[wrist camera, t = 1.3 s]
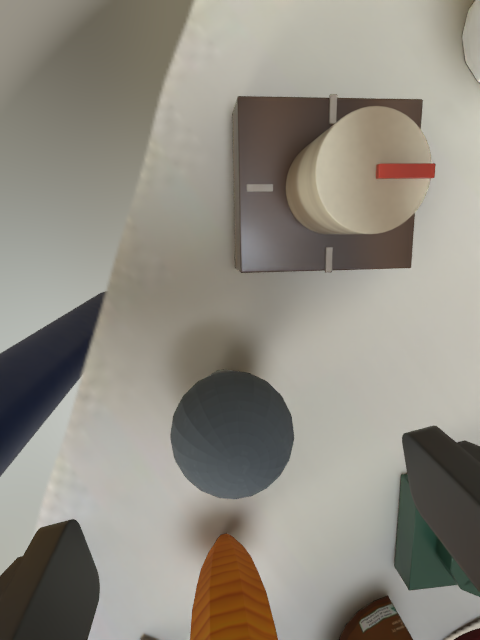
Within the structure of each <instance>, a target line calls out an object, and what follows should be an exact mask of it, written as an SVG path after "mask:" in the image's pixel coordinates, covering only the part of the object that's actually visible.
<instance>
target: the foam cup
mask: <svg viewBox="0 0 480 640" xmlns="http://www.w3.org/2000/svg"><path fill="white" fill-rule="evenodd" d="M462 40H463V47H464V54H465V61H466V64H467V65H468V67H469V68H470V70H471V72H472V73H473V75H474V76H475V78H476V79H477V81H478V82H479V83H480V0H475V2H474V3H473V4H472V6H471V7H470V9H469V10H468V14H467V18H466V22H465V26H464V31H463V35H462Z"/></svg>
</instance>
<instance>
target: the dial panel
mask: <svg viewBox="0 0 480 640" xmlns="http://www.w3.org/2000/svg"><path fill="white" fill-rule="evenodd" d="M422 103H423V100H422V99H367V98H337V94H330V98H308V97H250V96H238V98H237V101H236V104H235V107H234V111H233V114H232V123H233V171H234V220H235V268H236V269H237V270H239V271H240V272H241V273H252V272H287V271H322V270H325V272H332V270H357V269H392V268H411V260H412V246H413V231H414V217H415V213H414V214H413V215H412V216H411V217H410V218H409V219H408V220H407V221H405V222H404V223H402V224H401V225H400V226H398V227H396V228H394V229H392V230H389V231H386V232H383V233H378V234H320V233H316V232H314V231H311V230H309V229H308V228H306V227H305V226H303V225H302V224H301V223H300V222H299V221H298V220H297V219H296V218H295V216H294V215H293V213H292V211H291V209H290V207H289V204H288V201H287V196H286V179H287V175H288V171H289V168H290V166H291V164H292V162H293V161H294V159H295V158H296V156H297V155H298V154H299V153H300V152H301V151H302V150H303V149H304V148H305V147H306V146H308V145H309V144H310V143H311V142H313V141H314V140H315V139H316V138H318V137H319V136H320V135H321V134H323V133H324V132H325V131H326V130H328V129H329V128H330V127H331V126H333V125H334V124H335V123H336V122H338V121H339V120H340V119H341V118H343V117H344V116H346V115H347V114H349V113H351V112H353V111H355V110H358V109H360V108H364V107H369V106H383V107H388V108H392V109H395V110H397V111H400V112H402V113H403V114H405V115H407V116H408V117H409V118H410V119H412V120H413V121H414V122H415V123H416V124H417V126H418V127H419V128H420V130H421V117H422Z"/></svg>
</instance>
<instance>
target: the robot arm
mask: <svg viewBox="0 0 480 640" xmlns="http://www.w3.org/2000/svg"><path fill="white" fill-rule="evenodd" d="M402 443H403V449H404V456H405V462H406V469H407V475H408V481H409V488H410V492H411V495H412V498H413V501H414V503H415V506H416V508H417V510H418V511H419V513H420V515H421V516H422V518H423V519H424V520H425V522H426V523H427V524H428V526H429V527H430V528H431V529H432V531H433V532H434V533H435V535H436V536H437V537H438V539H439V540H440V541H441V543H442V544H443V545H444V547H445V548H446V549H447V550H448V552H449V553H450V554H451V556H452V557H453V558H454V560H455V561H456V562H457V564H458V565H459V566H460V567H461V569H462V570H463V571H464V573H465V574H466V575H467V577H468V578H469V579H470V581H471V582H472V583H473V585H474V586H475V587H476V588H477V590H478V591H479V592H480V446H477V445H475V444H472V443H470V442H467V441H462V442H458V443H456V442H455V441H454V440H453V439H451V438H450V437H449V436H448V435H447V434H445V433H444V432H443V431H442V430H441V429H440V428H438V427H437V426H430V427H427V428H423V429H419V430H415V431H411V432H408V433H404V434H403V437H402ZM99 593H100V583H99V576H98V572H97V569H96V566H95V563H94V561H93V558H92V556H91V553H90V550H89V548H88V545H87V543H86V540H85V537H84V535H83V532H82V530H81V527H80V525H79V523H78V522H77V521H76V520H74V519H72V520H68V521H64V522H60V523H57V524H53V525H49V526H45V527H41V528H40V529H39V530H38V531H37V532H36V534H35V536H34V537H33V539H32V541H31V543H30V545H29V546H28V548H27V550H26V552H25V553H24V555H23V556H22V557H18V558H17V559H16V560H15V561H14V562H13V563H12V564H11V565H10V566H9V567H8V568H7V569H6V570H5V571H4V573H3V574H2V575H1V576H0V640H87V639H88V636H89V632H90V629H91V625H92V622H93V618H94V615H95V611H96V608H97V605H98V601H99Z"/></svg>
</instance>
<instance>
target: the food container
mask: <svg viewBox="0 0 480 640" xmlns="http://www.w3.org/2000/svg"><path fill="white" fill-rule="evenodd" d="M339 640H413V639H412V637H411V635H410V634H409V632H408V630H407V628H406V627H405V625H404V623H403V621H402V620H401V618H400V616H399V614H398V613H397V611H396V609H395V607H394V606H393V604H392V602H391V600H390V599H389V597H388V596H386V597H383V598H380V599H378V600H375V601H373V602H372V603H370V604H369V605H367V606H366V607H364V608H362V609H361V610H359V611H358V612H357V613H356V614H355V615H354V616H353V618H352V619H351V620H350V621H349V622H348V623H347V624H346V626H345V628H344V630H343V632H342V634H341V636H340V638H339Z"/></svg>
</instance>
